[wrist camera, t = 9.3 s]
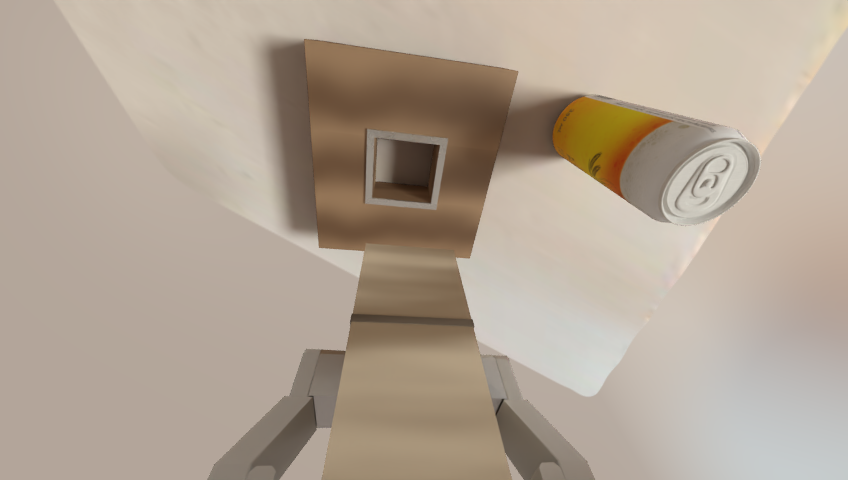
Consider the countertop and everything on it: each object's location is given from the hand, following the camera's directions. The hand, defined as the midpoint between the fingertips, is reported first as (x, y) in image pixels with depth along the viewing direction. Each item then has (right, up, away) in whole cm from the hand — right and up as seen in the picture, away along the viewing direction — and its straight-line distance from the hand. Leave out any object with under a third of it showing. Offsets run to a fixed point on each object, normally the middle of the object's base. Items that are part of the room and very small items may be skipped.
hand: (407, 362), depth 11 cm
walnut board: (-1, +13, +20) cm, 23 cm away
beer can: (+16, +16, +19) cm, 30 cm away
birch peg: (0, +2, +4) cm, 5 cm away
